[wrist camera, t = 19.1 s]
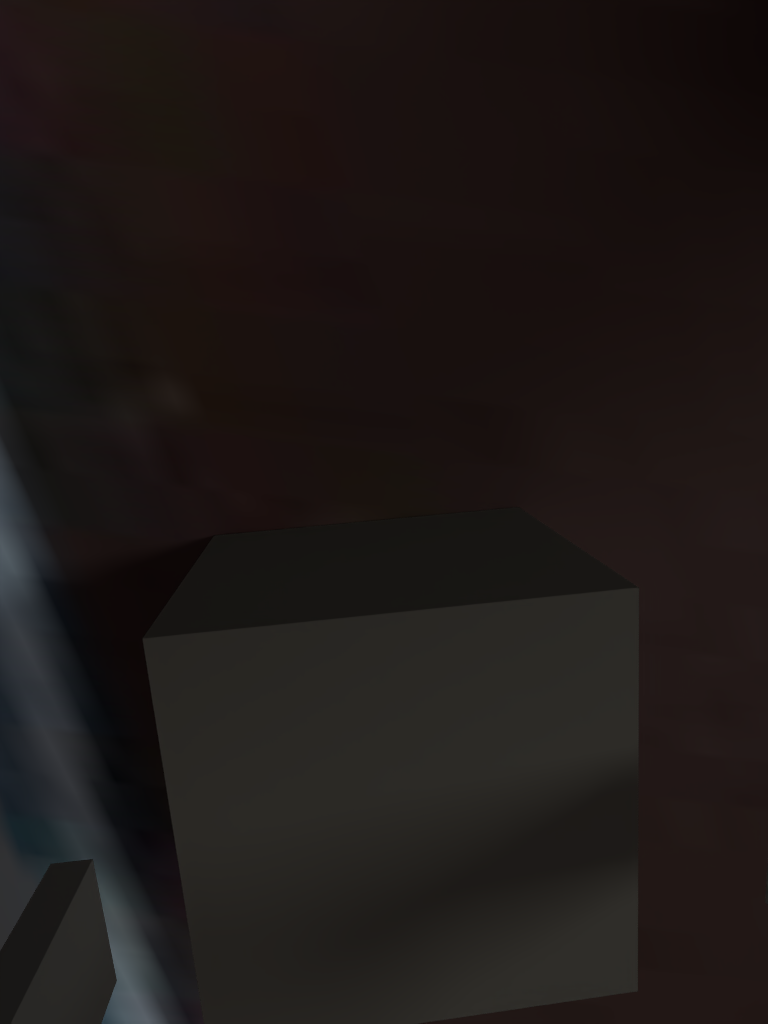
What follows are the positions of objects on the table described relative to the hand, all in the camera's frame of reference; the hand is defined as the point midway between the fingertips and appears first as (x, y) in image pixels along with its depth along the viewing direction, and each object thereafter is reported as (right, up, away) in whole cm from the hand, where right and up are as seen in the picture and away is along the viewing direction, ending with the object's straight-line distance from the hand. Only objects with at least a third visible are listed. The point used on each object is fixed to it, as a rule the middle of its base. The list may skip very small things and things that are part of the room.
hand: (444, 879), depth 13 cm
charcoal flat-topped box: (-1, +2, +10) cm, 11 cm away
